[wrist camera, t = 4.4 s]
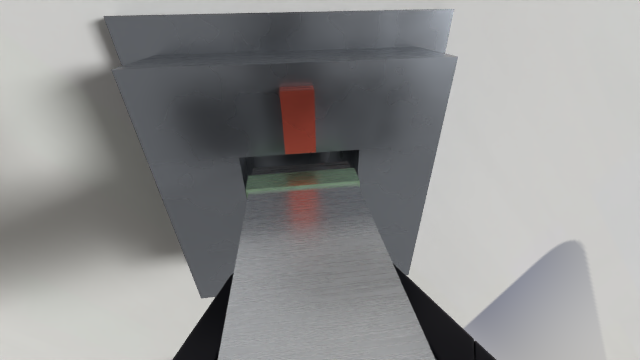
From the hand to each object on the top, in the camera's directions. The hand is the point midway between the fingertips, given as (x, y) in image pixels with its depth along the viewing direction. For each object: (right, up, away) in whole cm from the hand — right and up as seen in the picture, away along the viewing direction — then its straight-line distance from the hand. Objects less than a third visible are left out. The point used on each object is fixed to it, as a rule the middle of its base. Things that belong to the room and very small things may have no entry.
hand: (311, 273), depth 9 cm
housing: (-1, +4, +7) cm, 8 cm away
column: (-1, +3, +4) cm, 5 cm away
